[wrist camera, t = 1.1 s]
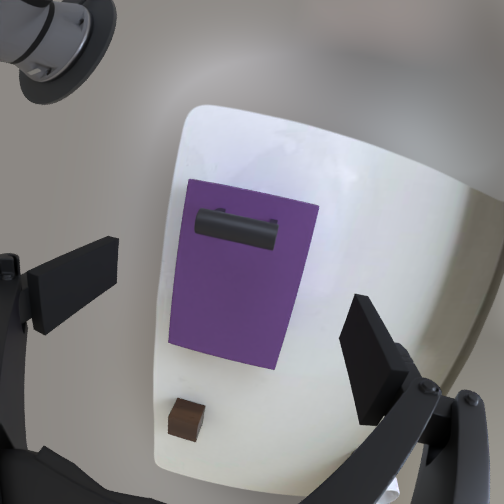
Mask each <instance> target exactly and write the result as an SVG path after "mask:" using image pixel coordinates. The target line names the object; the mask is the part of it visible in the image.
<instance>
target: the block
mask: <svg viewBox="0 0 504 504" xmlns="http://www.w3.org/2000/svg"><path fill="white" fill-rule="evenodd" d="M204 411H205V406H204V405H201V404H197V403H194V402H190V401H187V400H184V399H180V398H177V400H176V402H175V404H174V406H173V408H172V410H171V412H170V414H169V416H168V434H170V435H173V436H177V437H180V438H183V439H186V440H190V441H193V442H196V440H197V437H198V434H199V432H200V429H201V426H202V423H203V417H204Z"/></svg>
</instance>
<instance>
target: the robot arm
mask: <svg viewBox="0 0 504 504" xmlns="http://www.w3.org/2000/svg"><path fill="white" fill-rule="evenodd" d="M85 1H86V0H81V1H80V2H79V3H78V4H75V3H66V2H54V1H53V0H0V61H1V62H6V63H10V64H14V65H16V66H17V67H18V68H19V69H20V70H21V71H23V72H24V73H25V74H26V75H27V76H28V77H29V78H31V79H32V80H34V81H37V82H42V83H49V82H52V81H55V80H57V79H59V78H60V77H62V76H63V75H64V74H66V73H67V72H68V71H69V70H70V69H71V68H72V67H73V66H74V65H75V64H76V62H77V61H78V60H79V58H80V57H81V56H82V54H83V52H84V51H85V49H86V47H87V45H88V43H89V41H90V38H91V36H92V32H93V27H94V18H93V15H92V13H91V11H90V10H89V9H87V8H86V7H84V6H82V4H83V3H84V2H85ZM118 245H119V239H118V238H114V237H110V236H107V237H104V238H102V239H99V240H97V241H95V242H92V243H90V244H87V245H85V246H83V247H80V248H78V249H75V250H73V251H71V252H69V253H66V254H64V255H62V256H59V257H57V258H55V259H53V260H51V261H48V262H46V263H44V264H42V265H39V266H37V267H35V268H33V269H31V270H29V271H27V272H26V273H24V274H22V275H20V262H19V256H18V255H16V254H12V253H5V254H0V504H166V503H163V502H160V501H157V500H154V499H152V498H144V497H139V496H133V495H128V494H123V493H118V492H114V491H109V490H107V489H105V488H103V487H102V486H101V485H99V484H98V483H97V482H95V481H94V480H93V479H92V478H90V477H89V476H88V475H87V474H86V473H85V472H83V471H82V470H81V469H80V468H79V467H78V466H76V465H75V464H74V463H72V462H71V461H69V460H67V459H65V458H64V457H62V456H60V455H58V454H57V453H55V452H53V451H52V450H50V449H49V448H47V447H46V446H43V447H42V449H41V450H40V451H39V452H34V451H30V450H28V449H27V443H26V431H25V413H24V374H25V354H26V342H27V332H28V327H27V321H28V320H29V319H31V318H32V322H33V327H34V330H36V331H38V332H40V333H42V334H43V335H46V334H48V333H49V332H50V331H52V330H53V329H55V328H56V327H57V326H58V325H60V324H61V323H62V322H64V321H65V320H66V319H68V318H69V317H70V316H72V315H73V314H75V313H76V312H77V311H79V310H80V309H81V308H83V307H84V306H86V305H87V304H88V303H90V302H91V301H92V300H94V299H95V298H96V297H98V296H99V295H101V294H102V293H104V292H105V291H107V290H108V289H109V288H111V287H112V286H114V285H115V284H116V283H117V261H118ZM339 340H340V344H341V348H342V352H343V356H344V360H345V364H346V368H347V372H348V376H349V380H350V384H351V388H352V393H353V397H354V401H355V406H356V410H357V415H358V419H359V424H360V425H370V426H377V425H378V424H379V425H378V426H377V427H376V428H375V429H374V430H373V432H372V433H371V434H370V435H369V436H368V437H367V438H366V440H365V441H364V442H363V443H362V444H361V445H360V446H359V447H358V448H357V449H356V451H355V452H354V453H353V454H352V455H351V456H350V457H349V458H348V459H347V460H346V461H345V462H344V463H343V464H342V465H341V466H340V467H339V468H338V469H337V470H336V471H335V472H334V473H333V474H332V475H331V476H330V477H329V478H327V479H326V480H325V481H324V482H323V483H322V484H321V485H320V486H319V487H318V488H317V489H315V490H314V491H313V492H312V493H311V494H310V495H309V496H307V497H306V498H305V499H304V500H303V501H301V502H300V503H299V504H376V503H377V502H378V500H379V499H380V498H381V496H382V495H383V494H384V492H385V491H386V490H387V488H388V487H389V485H390V484H391V483H392V481H393V480H394V478H395V477H396V475H397V474H398V472H399V471H400V469H401V467H402V466H403V465H404V463H405V461H406V460H407V458H408V457H409V455H410V453H411V452H412V450H413V448H414V447H415V445H416V443H417V442H419V443H423V444H424V448H423V453H422V458H421V464H420V468H419V473H418V477H417V481H416V485H415V489H414V493H413V497H412V501H411V504H489V503H490V459H489V443H488V431H487V422H486V414H485V408H484V402H483V400H482V399H481V397H480V396H479V395H478V394H477V393H475V392H472V391H470V390H461V391H460V392H459V393H458V394H457V396H456V397H455V399H453V398H450V397H446V396H443V395H441V393H442V391H441V389H440V387H439V386H438V385H437V384H436V383H435V382H433V381H432V380H429V379H427V378H422V376H421V375H420V373H419V371H418V369H417V367H416V366H415V364H414V363H413V360H412V358H410V355H409V353H408V351H407V350H406V349H405V348H404V347H403V346H402V345H401V344H400V343H394V341H393V339H392V337H391V336H390V334H389V332H388V330H387V328H386V327H385V325H384V323H383V321H382V320H381V318H380V316H379V314H378V313H377V311H376V309H375V307H374V306H373V304H372V302H371V301H370V299H369V297H368V296H364V295H359V294H355V295H354V298H353V301H352V304H351V307H350V309H349V312H348V315H347V318H346V321H345V323H344V326H343V329H342V331H341V334H340V337H339ZM383 416H385V417H384V419H383V420H382V421H381V419H382V418H383ZM380 421H381V422H380ZM379 422H380V423H379Z"/></svg>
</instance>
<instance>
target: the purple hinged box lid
mask: <svg viewBox="0 0 504 504" xmlns="http://www.w3.org/2000/svg"><path fill="white" fill-rule="evenodd" d="M318 210H319V206H318V205H314V204H310V203H306V202H302V201H297V200H293V199H289V198H284V197H280V196H275V195H271V194H266V193H261V192H257V191H252V190H247V189H242V188H237V187H232V186H227V185H222V184H217V183H211V182H206V181H201V180H195V179H189V180H188V186H187V192H186V198H185V204H184V210H183V217H182V223H181V230H180V237H179V245H178V252H177V260H176V268H175V277H174V286H173V295H172V305H171V315H170V327H169V339H168V343H171V344H174V345H177V346H181V347H184V348H188V349H191V350H195V351H198V352H202V353H205V354H209V355H213V356H217V357H221V358H224V359H228V360H233V361H237V362H241V363H245V364H249V365H254V366H258V367H263V368H268V369H272V370H275V367H276V363H277V360H278V357H279V354H280V351H281V347H282V344H283V341H284V337H285V334H286V331H287V327H288V324H289V320H290V317H291V313H292V310H293V306H294V303H295V299H296V296H297V292H298V288H299V285H300V281H301V277H302V274H303V270H304V266H305V262H306V259H307V255H308V251H309V247H310V243H311V239H312V235H313V231H314V227H315V223H316V219H317V214H318Z"/></svg>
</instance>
